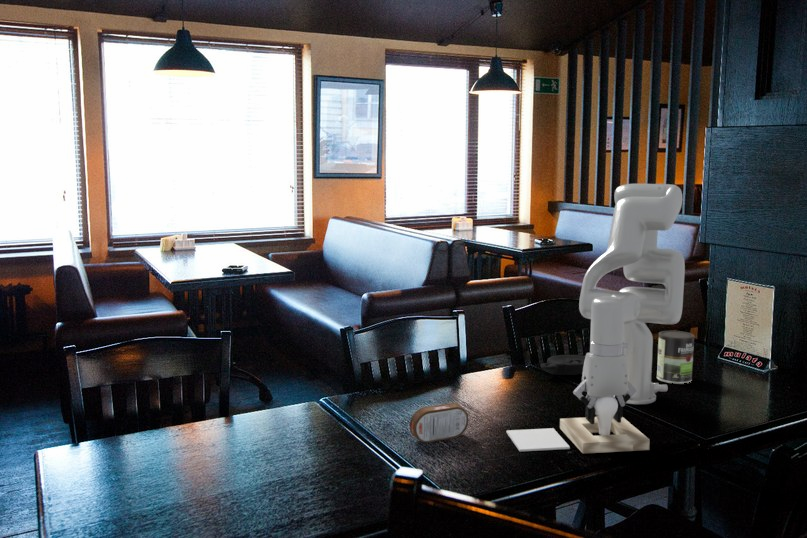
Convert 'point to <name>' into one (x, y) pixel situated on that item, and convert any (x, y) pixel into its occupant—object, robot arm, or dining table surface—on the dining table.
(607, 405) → the lightbulb
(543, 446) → the rubber mat
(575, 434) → the plate
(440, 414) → the tin
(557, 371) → the oil lamp
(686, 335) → the coffee can
